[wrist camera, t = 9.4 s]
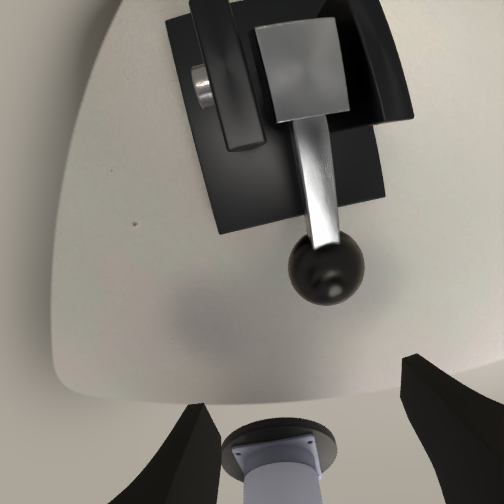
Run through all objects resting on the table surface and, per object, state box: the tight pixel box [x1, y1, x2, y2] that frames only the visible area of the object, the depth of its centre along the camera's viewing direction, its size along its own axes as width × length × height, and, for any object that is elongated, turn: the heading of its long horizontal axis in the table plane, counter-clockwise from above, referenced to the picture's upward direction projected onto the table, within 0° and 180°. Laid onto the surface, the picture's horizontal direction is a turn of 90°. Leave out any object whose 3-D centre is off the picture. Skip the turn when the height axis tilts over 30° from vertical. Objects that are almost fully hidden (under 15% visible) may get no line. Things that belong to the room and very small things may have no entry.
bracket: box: [165, 0, 414, 235], centre depth 11 cm, size 12×9×9 cm
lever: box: [247, 17, 365, 306], centre depth 11 cm, size 11×3×3 cm, turn 14°
